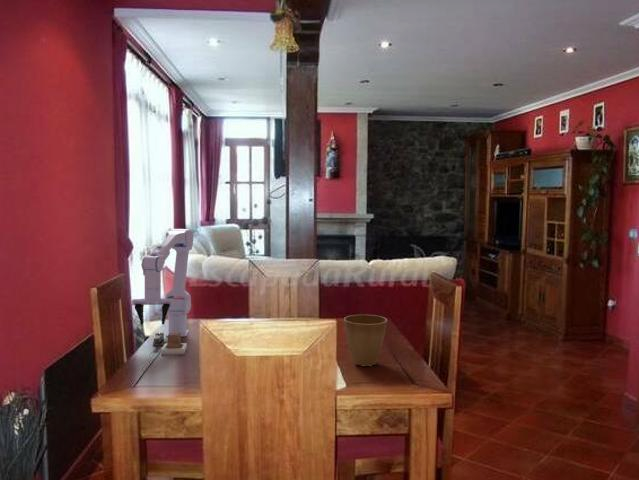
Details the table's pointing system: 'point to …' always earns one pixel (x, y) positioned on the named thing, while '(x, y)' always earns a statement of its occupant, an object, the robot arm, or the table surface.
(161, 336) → the crank
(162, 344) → the crank base
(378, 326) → the plant pot
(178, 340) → the block
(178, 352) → the tray
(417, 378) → the table surface
